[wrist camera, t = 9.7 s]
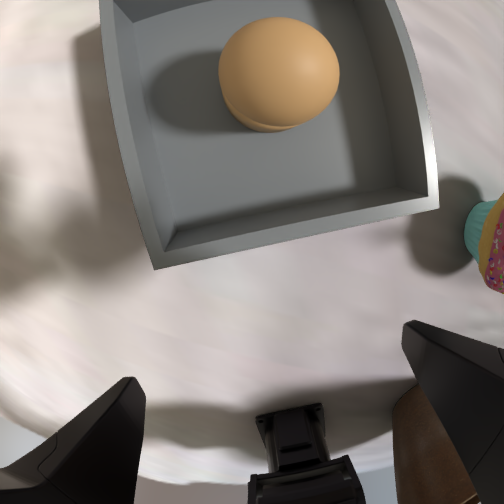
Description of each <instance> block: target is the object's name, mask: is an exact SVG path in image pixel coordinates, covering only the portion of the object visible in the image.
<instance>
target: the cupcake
mask: <svg viewBox="0 0 504 504" xmlns="http://www.w3.org/2000/svg"><path fill="white" fill-rule="evenodd" d="M464 241H465V245H466V247H467V249H468V251H469V252H470V253H471V254H472V256H473V257H474V258H475V260H476V261H477V263H478V264H479V271H480V273H481V274H482V276H483V279H484V281H485V283H486V285H487V286H488V287H489V288H491V289H493V290H495V291H498V292H500V293H502V294H504V193H503V194H502V196H501V197H500V198H499V199H498V200H495V201H489V202H481V203H478V204H477V205H476V206H474V207H473V209H472V210H471V212H470V213H469V215H468V217H467V220H466V224H465V229H464Z"/></svg>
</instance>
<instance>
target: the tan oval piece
mask: <svg viewBox="0 0 504 504" xmlns="http://www.w3.org/2000/svg"><path fill="white" fill-rule="evenodd" d="M218 75H219V82H220V86H221V90H222V94H223V98H224V102H225V104H226V107H227V109H228V110H229V112H230V113H231V115H232V116H233V117H234V118H235V119H236V120H237V121H238V122H240V123H241V124H242V125H244V126H246V127H248V128H250V129H252V130H255V131H259V132H264V133H277V132H282V131H286V130H289V129H291V128H293V127H296V126H298V125H300V124H302V123H305V122H307V121H309V120H311V119H313V118H314V117H316V116H317V115H319V114H320V113H321V112H322V111H323V110H324V109H326V107H327V106H328V105H329V104H330V102H331V101H332V99H333V97H334V96H335V93H336V91H337V88H338V84H339V76H340V72H339V63H338V59H337V56H336V54H335V52H334V50H333V48H332V46H331V45H330V43H329V42H328V40H327V39H326V38H325V37H324V36H323V35H322V34H321V33H320V32H319V31H317V30H316V29H315V28H313V27H312V26H310V25H308V24H306V23H304V22H301V21H299V20H295V19H291V18H286V17H269V18H263V19H259V20H256V21H253V22H251V23H249V24H247V25H245V26H243V27H242V28H241V29H239V30H238V31H237V32H235V33H234V34H233V35H232V36H231V38H230V39H229V40H228V42H227V43H226V45H225V47H224V49H223V50H222V53H221V56H220V59H219V66H218Z"/></svg>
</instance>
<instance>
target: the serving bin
mask: <svg viewBox="0 0 504 504" xmlns="http://www.w3.org/2000/svg"><path fill="white" fill-rule="evenodd" d="M99 10H100V25H101V37H102V47H103V55H104V64H105V71H106V78H107V85H108V91H109V97H110V103H111V109H112V114H113V119H114V124H115V129H116V134H117V139H118V144H119V148H120V153H121V157H122V161H123V165H124V170H125V174H126V178H127V181H128V185H129V189H130V193H131V197H132V200H133V204H134V207H135V211H136V214H137V218H138V221H139V224H140V228H141V231H142V234H143V237H144V241H145V244H146V247H147V250H148V253H149V256H150V259H151V262H152V265H153V268H154V270H158V269H162V268H167V267H171V266H176V265H180V264H185V263H190V262H194V261H199V260H203V259H208V258H212V257H217V256H221V255H226V254H230V253H235V252H240V251H244V250H249V249H253V248H258V247H262V246H267V245H272V244H276V243H281V242H285V241H290V240H294V239H299V238H304V237H308V236H313V235H317V234H322V233H327V232H331V231H336V230H341V229H345V228H350V227H354V226H359V225H364V224H368V223H373V222H378V221H382V220H387V219H392V218H396V217H401V216H406V215H410V214H415V213H420V212H424V211H429V210H434V209H438V208H439V191H438V176H437V165H436V156H435V148H434V140H433V133H432V127H431V121H430V115H429V110H428V105H427V100H426V96H425V91H424V87H423V83H422V79H421V75H420V71H419V67H418V64H417V60H416V57H415V53H414V50H413V47H412V44H411V41H410V38H409V35H408V32H407V29H406V26H405V23H404V21H403V18H402V15H401V13H400V10H399V8H398V6H397V3H396V1H395V0H99ZM269 17H286V18H291V19H295V20H299V21H301V22H304V23H306V24H308V25H310V26H312V27H313V28H315V29H316V30H317V31H319V32H320V33H321V34H322V35H323V36H324V37H325V38H326V39H327V40H328V42H329V43H330V45H331V46H332V48H333V50H334V52H335V54H336V56H337V59H338V63H339V72H340V76H339V84H338V88H337V91H336V93H335V96H334V97H333V99H332V101H331V102H330V104H329V105H328V106H327V107H326V109H324V110H323V111H322V112H321V113H320V114H319V115H317V116H316V117H314V118H313V119H311V120H309V121H307V122H305V123H302V124H300V125H298V126H296V127H293V128H291V129H289V130H286V131H282V132H277V133H264V132H259V131H255V130H252V129H250V128H248V127H246V126H244V125H242V124H241V123H240V122H238V121H237V120H236V119H235V118H234V117H233V116H232V115H231V113H230V112H229V110H228V109H227V107H226V104H225V102H224V98H223V94H222V90H221V86H220V82H219V75H218V66H219V59H220V56H221V53H222V50H223V49H224V47H225V45H226V43H227V42H228V40H229V39H230V38H231V36H232V35H233V34H234V33H235V32H237V31H238V30H239V29H241V28H242V27H243V26H245V25H247V24H249V23H251V22H253V21H256V20H259V19H263V18H269Z"/></svg>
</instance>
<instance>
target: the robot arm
mask: <svg viewBox="0 0 504 504" xmlns="http://www.w3.org/2000/svg"><path fill="white" fill-rule="evenodd" d="M401 344H402V349H403V351H404V353H405V355H406V357H407V360H408V362H409V364H410V366H411V368H412V370H413V373H414V375H415V377H416V379H417V381H418V383H419V385H420V387H421V389H422V390H423V392H424V394H425V395H426V397H427V399H428V400H429V402H430V404H431V406H432V407H433V409H434V411H435V413H436V414H437V416H438V418H439V420H440V421H441V423H442V425H443V427H444V429H445V430H446V432H447V434H448V436H449V438H450V440H451V442H452V443H453V445H454V447H455V449H456V451H457V453H458V455H459V457H460V459H461V461H462V463H463V465H464V467H465V469H466V471H467V473H468V474H469V478H470V480H471V482H472V484H473V486H474V488H475V490H476V493H477V495H478V497H479V499H480V502H481V504H504V349H502V348H497V347H496V346H493V345H490V344H487V343H484V342H481V341H477V340H474V339H471V338H468V337H465V336H462V335H459V334H456V333H453V332H450V331H447V330H444V329H441V328H438V327H435V326H432V325H429V324H426V323H423V322H420V321H417V320H412V321H409V322H406V323H405V324H404V325H403V332H402V343H401ZM145 406H146V396H145V393H144V391H143V389H142V388H141V386H140V384H139V382H138V381H137V379H136V378H135V377H123V378H122V379H121V380H119V381H118V382H117V383H116V384H115V385H113V386H112V387H111V388H110V389H109V390H107V391H106V392H105V393H104V394H103V395H101V396H100V397H99V398H98V399H96V400H95V401H94V402H93V403H92V404H90V405H89V406H88V407H87V408H85V409H84V410H83V411H82V412H81V413H79V414H78V415H77V416H76V417H74V418H73V419H72V420H71V421H70V422H68V423H67V424H66V425H65V426H63V427H62V428H61V429H60V430H58V433H57V432H56V433H55V434H53V435H52V436H51V437H50V438H48V439H47V440H46V441H45V442H43V443H42V444H41V445H39V446H38V447H36V448H35V449H33V450H32V451H30V452H29V453H27V454H26V455H25V456H23V457H21V458H20V459H19V460H17V461H15V462H14V463H12V464H10V465H9V466H7V467H4V468H0V504H134V497H135V489H136V481H137V474H138V467H139V461H140V454H141V448H142V442H143V435H144V421H145ZM255 420H256V424H257V427H258V430H259V432H260V435H261V437H262V440H263V443H264V445H265V448H266V450H267V459H268V468H269V473H266V474H259V475H257V474H252V475H251V477H250V482H248V501H247V504H366V501H365V496H364V492H363V489H362V485H361V483H360V481H359V478H358V476H357V474H356V471H355V469H354V467H353V465H352V462H351V460H350V458H349V456H348V454H347V455H344V456H342V457H340V458H337V459H333V460H331V459H330V455H329V452H328V448H327V445H326V441H325V424H324V410H323V405H322V404H321V403H317V404H313V405H309V406H304V407H300V408H296V409H291V410H286V411H281V412H276V413H271V414H266V415H260V416H257V417H256V418H255Z"/></svg>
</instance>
